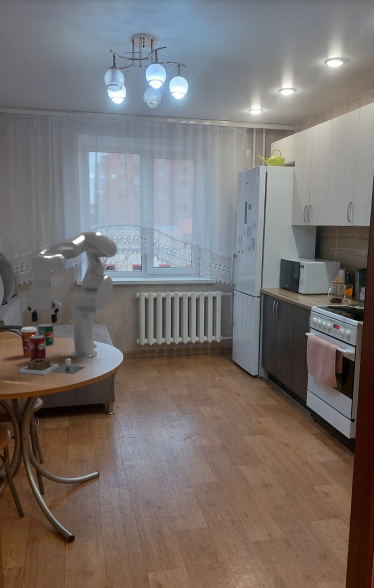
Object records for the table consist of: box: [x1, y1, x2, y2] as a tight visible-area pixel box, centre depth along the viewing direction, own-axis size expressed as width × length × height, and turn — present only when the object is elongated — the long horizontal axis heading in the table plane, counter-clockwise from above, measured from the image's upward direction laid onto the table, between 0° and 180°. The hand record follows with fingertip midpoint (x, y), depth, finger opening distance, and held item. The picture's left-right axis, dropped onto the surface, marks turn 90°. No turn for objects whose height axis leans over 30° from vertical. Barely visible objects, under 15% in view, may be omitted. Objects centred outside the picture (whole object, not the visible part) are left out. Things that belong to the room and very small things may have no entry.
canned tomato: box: [37, 323, 55, 347], centre depth 259 cm, size 8×8×11 cm
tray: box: [18, 363, 60, 376], centre depth 208 cm, size 12×12×2 cm
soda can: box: [29, 334, 47, 362], centre depth 225 cm, size 7×7×12 cm
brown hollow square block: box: [27, 358, 51, 371], centre depth 208 cm, size 7×8×4 cm
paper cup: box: [20, 326, 37, 358], centre depth 236 cm, size 8×8×14 cm
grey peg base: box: [50, 357, 86, 375], centre depth 208 cm, size 11×11×6 cm
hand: (44, 322), depth 209 cm, fingers open, 9 cm apart
